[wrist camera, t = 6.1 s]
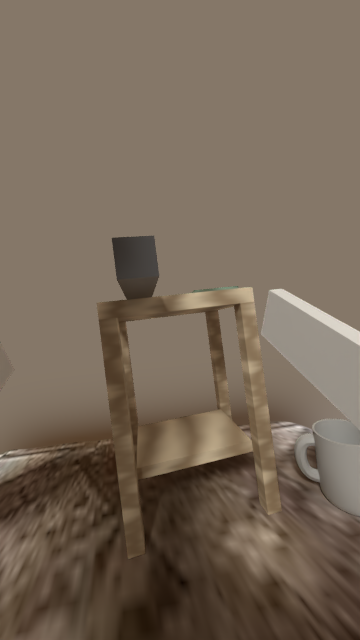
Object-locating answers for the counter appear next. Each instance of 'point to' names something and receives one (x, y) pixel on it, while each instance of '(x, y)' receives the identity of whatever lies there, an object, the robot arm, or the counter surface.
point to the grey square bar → (136, 265)
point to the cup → (334, 461)
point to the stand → (190, 431)
